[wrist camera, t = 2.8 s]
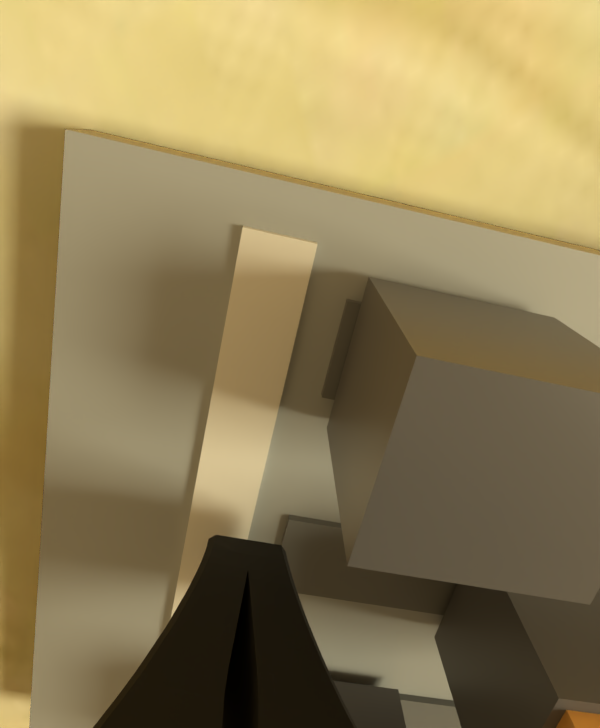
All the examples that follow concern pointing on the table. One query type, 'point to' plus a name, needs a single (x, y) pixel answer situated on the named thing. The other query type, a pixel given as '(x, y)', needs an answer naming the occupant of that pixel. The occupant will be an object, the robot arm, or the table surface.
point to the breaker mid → (521, 659)
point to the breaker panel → (234, 404)
